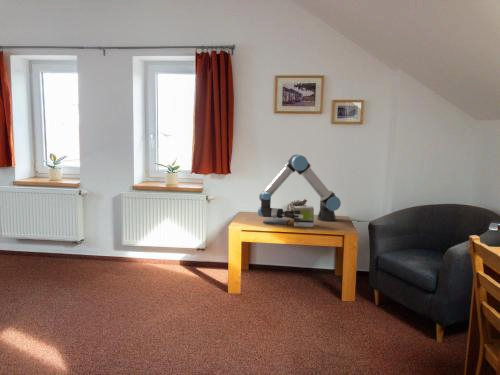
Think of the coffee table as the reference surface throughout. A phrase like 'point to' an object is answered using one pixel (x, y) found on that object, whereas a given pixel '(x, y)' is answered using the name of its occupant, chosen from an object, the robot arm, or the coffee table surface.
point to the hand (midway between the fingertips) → (304, 215)
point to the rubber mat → (276, 220)
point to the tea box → (304, 216)
